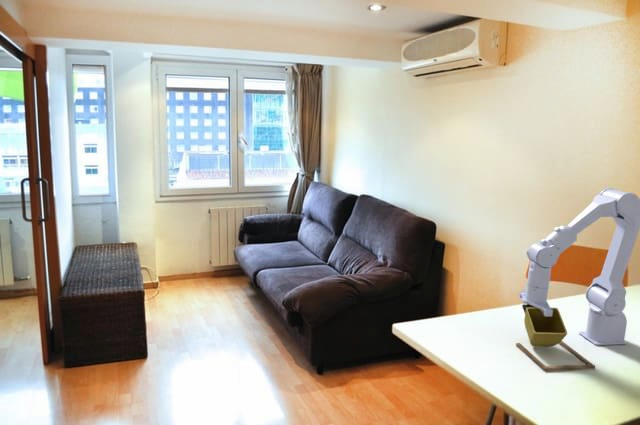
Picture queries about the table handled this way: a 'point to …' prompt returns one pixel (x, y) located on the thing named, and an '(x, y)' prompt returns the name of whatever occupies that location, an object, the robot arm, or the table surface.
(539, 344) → the flower pot
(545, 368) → the brown wooden open-sided frame
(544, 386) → the table surface
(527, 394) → the table surface
